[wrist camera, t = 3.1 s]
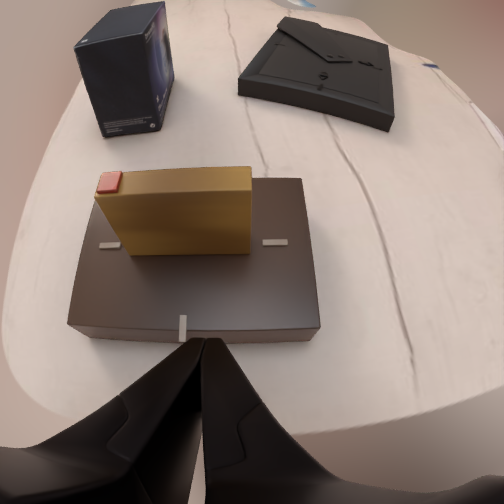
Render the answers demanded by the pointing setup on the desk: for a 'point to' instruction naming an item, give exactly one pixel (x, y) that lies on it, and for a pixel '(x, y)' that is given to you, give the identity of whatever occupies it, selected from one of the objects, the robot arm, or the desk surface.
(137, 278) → the plate
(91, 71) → the small box
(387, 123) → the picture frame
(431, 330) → the desk surface
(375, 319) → the desk surface
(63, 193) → the desk surface
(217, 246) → the yellow rectangular slab
